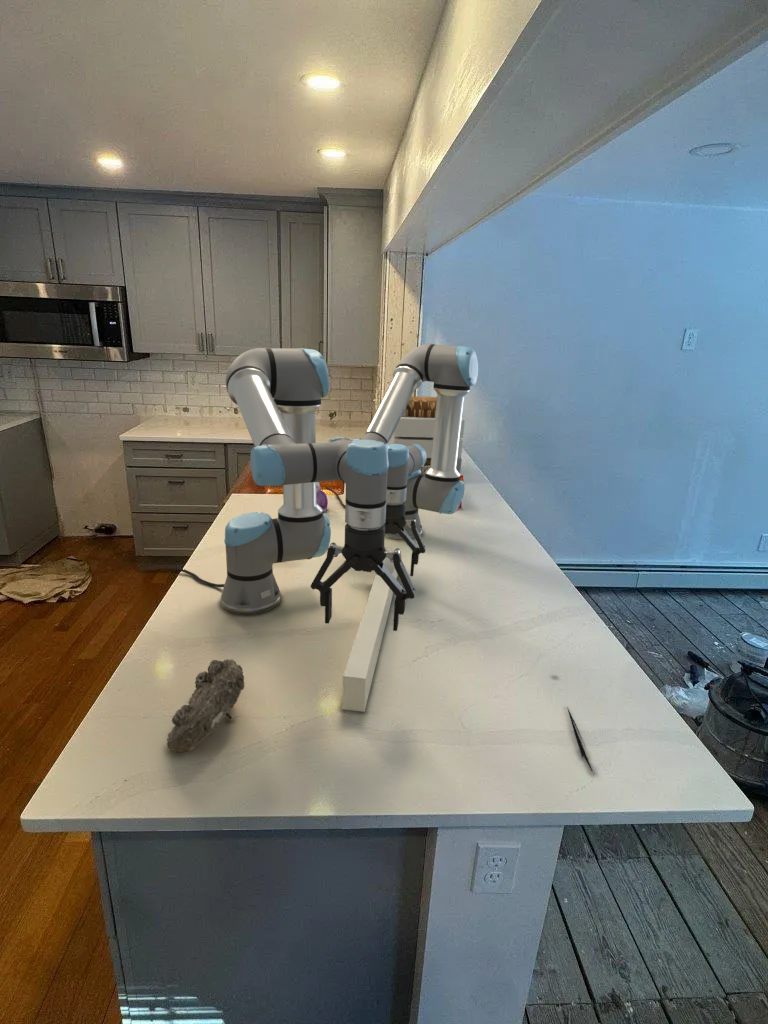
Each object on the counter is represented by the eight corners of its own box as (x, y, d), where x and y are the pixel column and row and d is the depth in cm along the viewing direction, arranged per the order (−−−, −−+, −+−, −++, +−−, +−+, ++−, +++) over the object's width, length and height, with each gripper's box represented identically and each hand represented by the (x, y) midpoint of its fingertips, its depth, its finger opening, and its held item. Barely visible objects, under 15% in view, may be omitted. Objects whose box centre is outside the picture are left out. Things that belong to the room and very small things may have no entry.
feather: (555, 681, 125) (561, 675, 124) (592, 776, 98) (600, 769, 98) (549, 677, 125) (554, 671, 124) (584, 771, 98) (592, 764, 98)
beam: (383, 572, 170) (384, 548, 168) (398, 573, 170) (399, 549, 167) (342, 709, 112) (342, 675, 109) (364, 712, 111) (365, 678, 109)
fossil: (192, 660, 117) (244, 628, 112) (224, 691, 120) (276, 661, 115) (142, 746, 98) (202, 712, 93) (182, 779, 101) (242, 748, 96)
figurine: (309, 516, 212) (309, 477, 207) (300, 507, 221) (300, 470, 216) (333, 513, 216) (333, 475, 211) (323, 504, 225) (323, 468, 220)
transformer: (382, 463, 289) (386, 382, 275) (445, 464, 293) (451, 384, 279) (390, 482, 257) (394, 392, 243) (460, 483, 261) (468, 394, 247)
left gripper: (294, 525, 103) (295, 626, 111) (431, 537, 101) (423, 640, 108) (305, 511, 110) (305, 608, 118) (433, 522, 108) (425, 620, 115)
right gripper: (344, 501, 153) (342, 572, 160) (437, 509, 150) (431, 581, 157) (349, 493, 160) (347, 562, 167) (438, 501, 157) (432, 570, 164)
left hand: (361, 623), depth 113 cm, fingers open, 13 cm apart
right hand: (388, 571), depth 162 cm, fingers open, 13 cm apart
